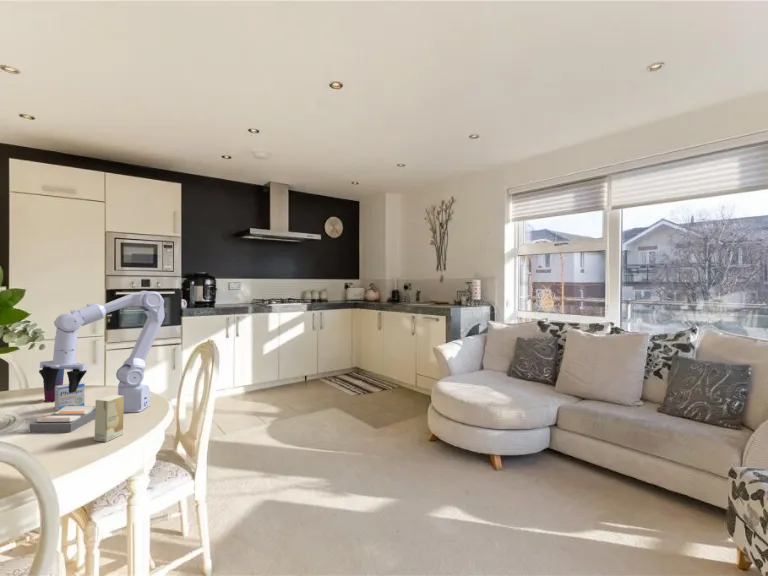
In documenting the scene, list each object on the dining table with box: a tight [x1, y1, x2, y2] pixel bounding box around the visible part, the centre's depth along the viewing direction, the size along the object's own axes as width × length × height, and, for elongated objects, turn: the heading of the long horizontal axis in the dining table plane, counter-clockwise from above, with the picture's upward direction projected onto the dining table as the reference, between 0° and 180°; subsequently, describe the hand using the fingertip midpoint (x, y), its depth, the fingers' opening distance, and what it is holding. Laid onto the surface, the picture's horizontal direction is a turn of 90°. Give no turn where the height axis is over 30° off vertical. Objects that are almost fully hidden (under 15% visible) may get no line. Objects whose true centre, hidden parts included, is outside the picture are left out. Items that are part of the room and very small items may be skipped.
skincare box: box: [94, 394, 125, 443], centre depth 118 cm, size 6×4×12 cm
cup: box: [41, 368, 65, 403], centre depth 151 cm, size 7×7×15 cm
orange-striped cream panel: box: [54, 405, 95, 415], centre depth 132 cm, size 10×5×1 cm, turn 95°
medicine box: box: [54, 381, 86, 412], centre depth 143 cm, size 8×4×9 cm, turn 143°
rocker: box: [36, 415, 81, 422], centre depth 125 cm, size 10×5×1 cm, turn 95°
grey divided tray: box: [28, 409, 95, 434], centre depth 129 cm, size 12×15×3 cm
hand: (61, 391), depth 128 cm, fingers open, 7 cm apart
